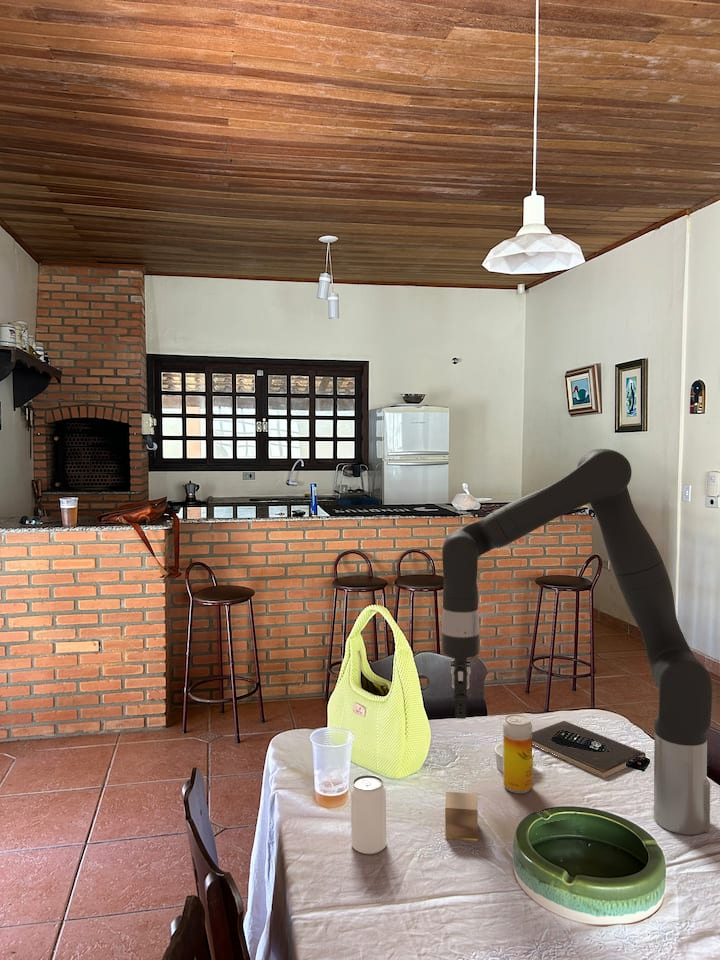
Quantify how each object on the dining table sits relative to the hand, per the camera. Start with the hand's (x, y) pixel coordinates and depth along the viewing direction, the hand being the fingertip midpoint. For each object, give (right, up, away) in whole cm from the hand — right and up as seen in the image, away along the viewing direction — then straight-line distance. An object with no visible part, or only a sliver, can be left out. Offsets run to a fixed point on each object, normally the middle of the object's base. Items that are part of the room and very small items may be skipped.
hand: (460, 710), depth 139 cm
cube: (-1, -20, -8) cm, 22 cm away
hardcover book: (+33, -19, +25) cm, 46 cm away
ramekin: (+15, -19, +17) cm, 30 cm away
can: (-19, -21, -12) cm, 31 cm away
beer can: (+13, -20, +8) cm, 25 cm away
